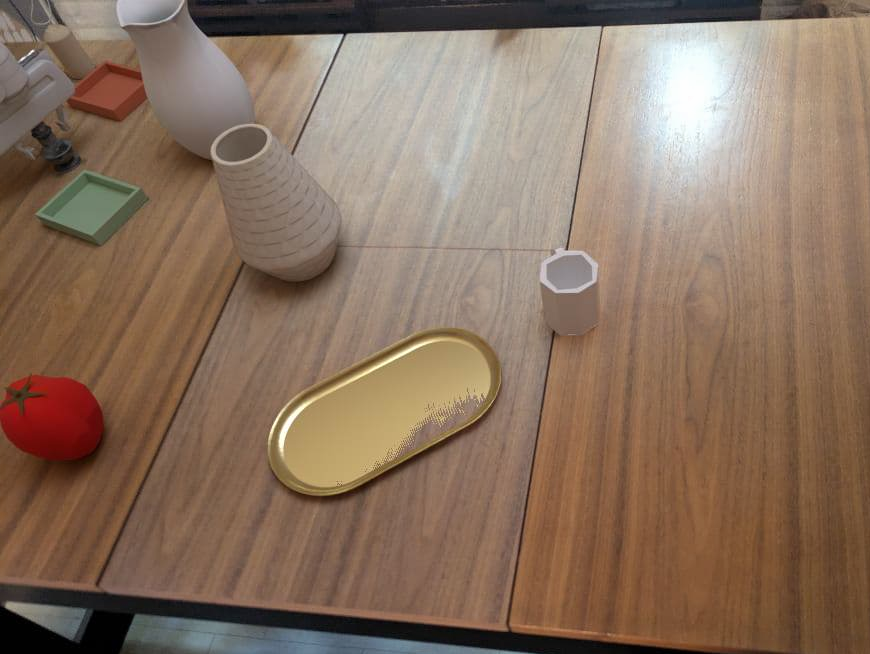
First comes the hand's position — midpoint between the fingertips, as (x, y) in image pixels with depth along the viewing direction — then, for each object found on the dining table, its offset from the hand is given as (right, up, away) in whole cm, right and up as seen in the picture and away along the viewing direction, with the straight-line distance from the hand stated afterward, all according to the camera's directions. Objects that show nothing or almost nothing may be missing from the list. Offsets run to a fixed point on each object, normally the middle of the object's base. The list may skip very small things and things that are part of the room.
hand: (51, 143), depth 134 cm
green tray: (+11, -14, -4) cm, 18 cm away
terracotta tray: (+4, +15, +14) cm, 21 cm away
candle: (-7, +23, +20) cm, 32 cm away
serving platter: (+71, -51, -32) cm, 93 cm away
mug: (+97, -35, -25) cm, 106 cm away
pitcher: (+30, +4, +5) cm, 30 cm away
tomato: (+26, -55, -30) cm, 67 cm away
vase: (+53, -25, -15) cm, 60 cm away
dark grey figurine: (0, -3, +4) cm, 5 cm away
